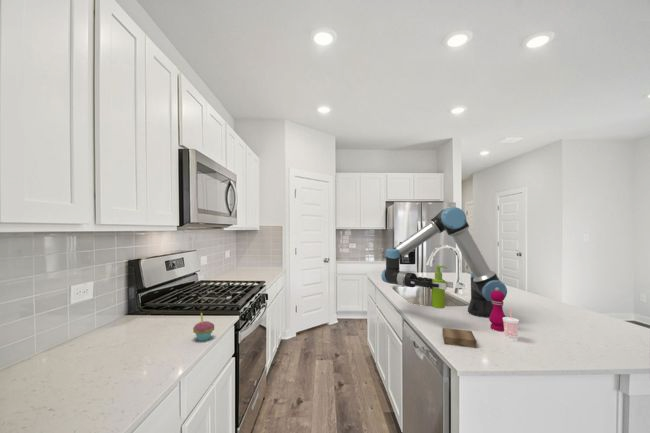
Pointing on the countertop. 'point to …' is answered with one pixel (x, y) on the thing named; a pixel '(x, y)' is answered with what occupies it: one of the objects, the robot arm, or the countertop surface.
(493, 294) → the pepper mill
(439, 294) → the soap dispenser
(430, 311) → the countertop surface
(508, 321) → the beverage cup
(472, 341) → the plinth
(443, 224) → the robot arm
